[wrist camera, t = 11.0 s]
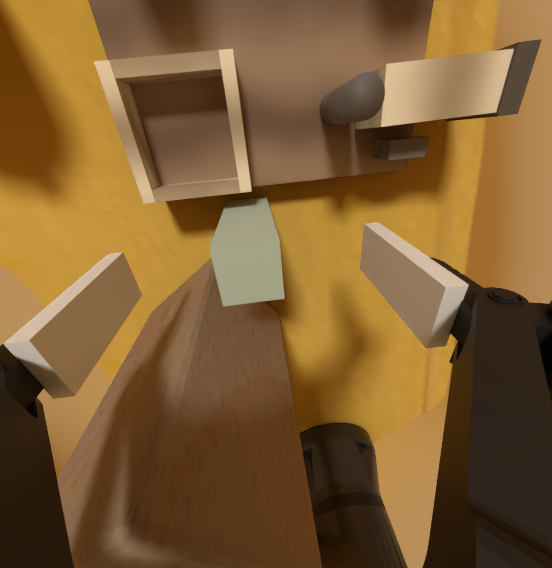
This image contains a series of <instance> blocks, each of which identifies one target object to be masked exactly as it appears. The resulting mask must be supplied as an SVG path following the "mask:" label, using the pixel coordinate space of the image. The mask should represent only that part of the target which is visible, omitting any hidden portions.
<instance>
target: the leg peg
mask: <svg viewBox="0 0 552 568" xmlns="http://www.w3.org/2000/svg"><path fill="white" fill-rule="evenodd" d="M209 250H210V255H211V259H212V263H213V267H214V271H215V275H216V279H217V283H218V288H219V292H220V296H221V300H222V304H223V306H231V305H239V304H247V303H255V302H262V301H270V300H278V299H285V297H284V286H283V274H282V263H281V251H280V240H279V237H278V234H277V230H276V227H275V224H274V220H273V217H272V214H271V210H270V207H269V204H268V201H267V197H260V198H251V199H242V200H233V201H226V204H225V207H224V210H223V212H222V215H221V218H220V220H219V223H218V226H217V229H216V231H215V234H214V237H213V239H212V242H211V245H210V248H209Z"/></svg>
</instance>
